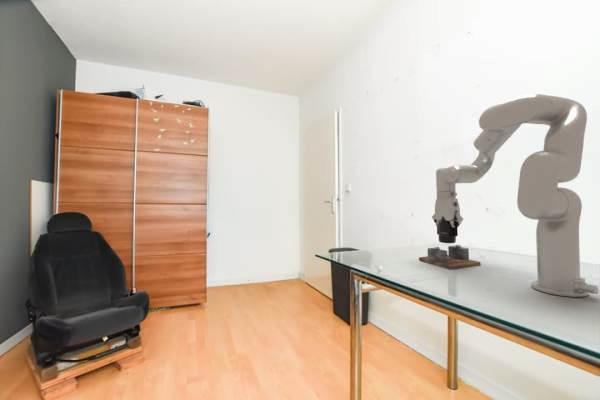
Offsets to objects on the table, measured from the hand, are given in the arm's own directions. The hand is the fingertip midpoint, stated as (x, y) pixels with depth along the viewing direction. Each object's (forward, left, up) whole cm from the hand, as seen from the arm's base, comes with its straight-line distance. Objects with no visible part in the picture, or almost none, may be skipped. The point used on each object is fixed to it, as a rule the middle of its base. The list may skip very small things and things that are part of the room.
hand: (447, 234), depth 120 cm
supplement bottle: (0, 0, -4) cm, 4 cm away
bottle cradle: (0, 0, -13) cm, 13 cm away
